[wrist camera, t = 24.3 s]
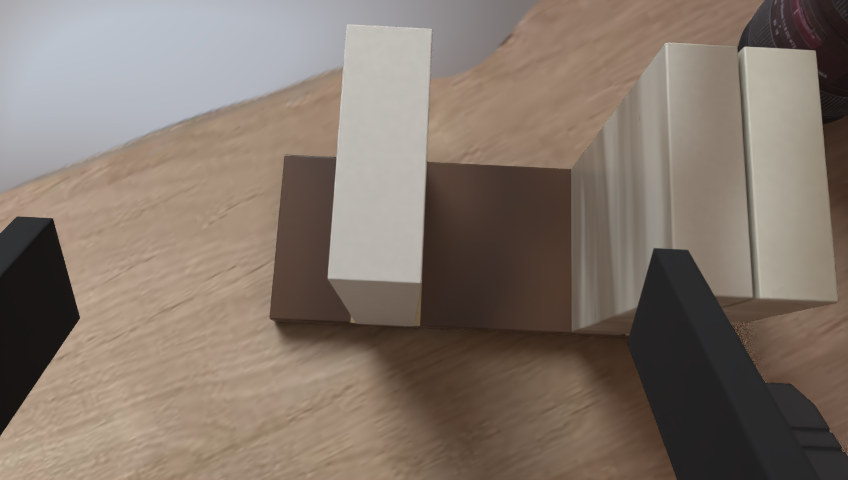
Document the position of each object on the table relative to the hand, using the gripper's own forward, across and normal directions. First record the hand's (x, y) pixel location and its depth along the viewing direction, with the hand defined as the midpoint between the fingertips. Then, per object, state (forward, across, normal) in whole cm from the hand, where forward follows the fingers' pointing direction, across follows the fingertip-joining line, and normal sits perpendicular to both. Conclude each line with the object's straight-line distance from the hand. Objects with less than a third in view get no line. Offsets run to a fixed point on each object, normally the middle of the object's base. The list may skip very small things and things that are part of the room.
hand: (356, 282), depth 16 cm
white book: (+18, 0, -10) cm, 21 cm away
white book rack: (+19, +5, -11) cm, 23 cm away
